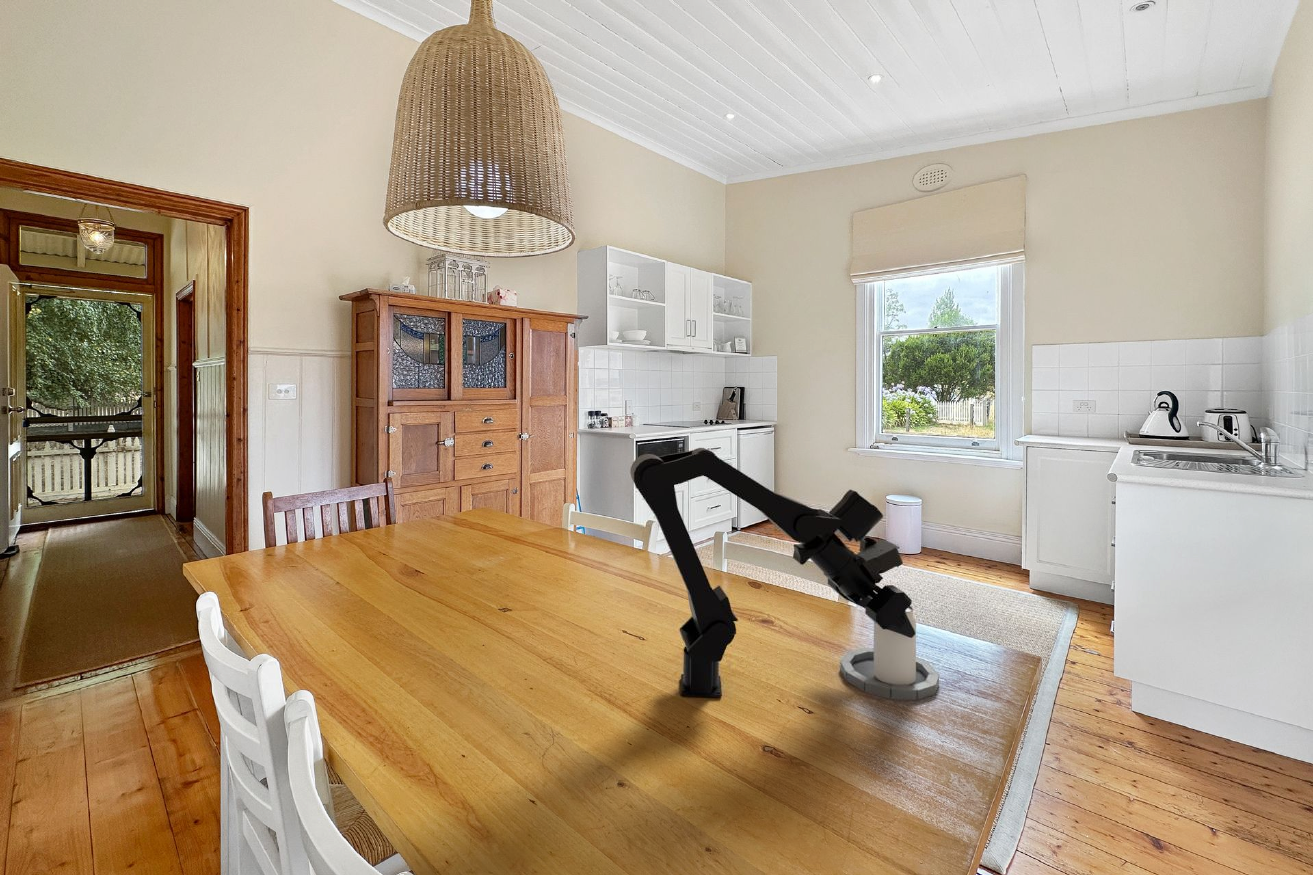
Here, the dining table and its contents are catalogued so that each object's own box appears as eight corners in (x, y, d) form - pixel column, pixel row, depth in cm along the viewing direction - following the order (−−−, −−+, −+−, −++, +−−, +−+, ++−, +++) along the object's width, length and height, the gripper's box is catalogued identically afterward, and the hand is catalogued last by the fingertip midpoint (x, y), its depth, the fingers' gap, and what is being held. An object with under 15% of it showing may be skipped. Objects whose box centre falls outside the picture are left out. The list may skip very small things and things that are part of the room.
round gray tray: (953, 701, 93) (953, 691, 93) (854, 697, 94) (855, 688, 94) (917, 657, 108) (917, 649, 108) (832, 655, 109) (832, 646, 108)
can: (893, 667, 103) (893, 598, 103) (924, 682, 97) (925, 609, 97) (865, 674, 100) (865, 604, 100) (895, 690, 95) (896, 615, 94)
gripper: (902, 540, 89) (967, 610, 91) (846, 514, 107) (901, 572, 110) (849, 594, 88) (916, 662, 91) (802, 558, 107) (859, 616, 109)
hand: (897, 624), depth 100 cm, fingers open, 9 cm apart
